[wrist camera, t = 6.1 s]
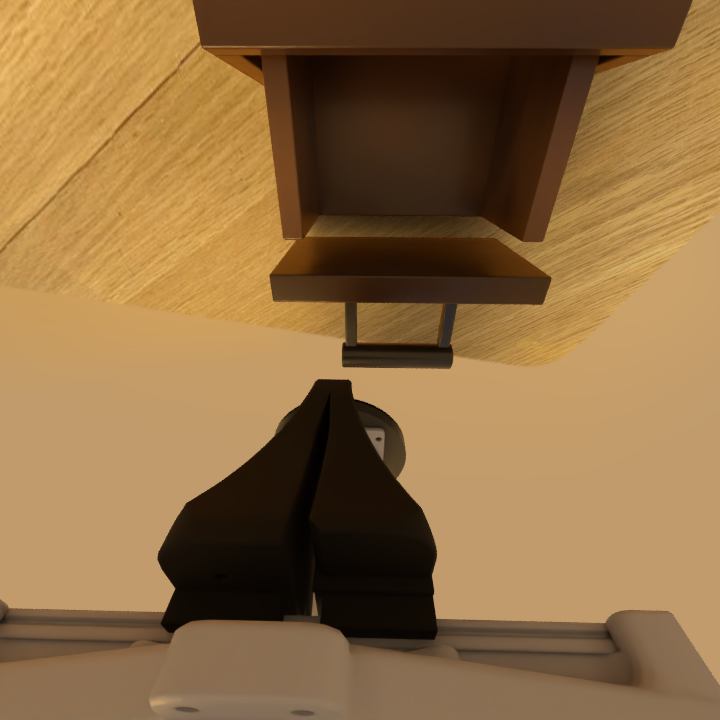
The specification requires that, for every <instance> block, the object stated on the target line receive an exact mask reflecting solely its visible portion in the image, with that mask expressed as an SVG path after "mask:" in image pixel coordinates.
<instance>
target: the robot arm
mask: <svg viewBox="0 0 720 720" xmlns="http://www.w3.org/2000/svg"><path fill="white" fill-rule="evenodd" d="M351 384H352V383H351V381H349V380H330V379H318V380H317V381H316V382H315V383H314V385H313V387H312V389H311V390H310V392H309V393H308V395H307V396H306V398H305V399H304V401H303V402H302V403H301V405H300V406H299V407H298V409H297V410H296V412H295V413H294V414H293V415H292V417H291V418H290V419H289V420H288V421H287V423H286V424H285V425H284V426H283V427H282V429H281V430H280V431H279V432H278V433H277V434H276V435H275V436H274V437H273V438H272V439H271V440H270V441H269V442H268V443H267V444H266V445H265V446H264V447H263V448H262V449H261V450H260V451H259V452H257V453H256V454H255V455H254V456H253V457H252V458H251V459H250V460H248V461H247V462H246V463H245V464H244V465H242V466H241V467H240V468H238V469H237V470H236V471H235V472H233V473H232V474H230V475H229V476H228V477H226V478H225V479H224V480H222V481H221V482H219V483H218V484H216V485H215V486H213V487H212V488H210V489H209V490H207V491H205V492H204V493H202V494H201V495H199V496H197V497H196V498H194V499H193V500H191V501H189V502H187V503H186V505H185V506H184V508H183V510H182V511H181V512H180V514H179V515H178V517H177V518H176V520H175V522H174V524H173V526H172V527H171V529H170V531H169V533H168V535H167V537H166V539H165V541H164V543H163V545H162V547H161V549H160V551H159V553H158V562H159V564H160V566H161V569H162V570H163V571H164V573H165V574H166V576H167V577H168V579H169V580H170V581H171V583H172V584H173V586H174V587H175V591H174V593H173V596H172V598H171V600H170V602H169V605H168V607H167V609H166V612H133V611H132V612H129V611H92V610H51V609H13V608H12V609H11V608H9V607H8V605H7V604H6V603H4V602H3V601H2V600H0V720H720V685H719V684H718V682H717V681H716V679H715V678H714V676H713V675H712V673H711V672H710V670H709V669H708V667H707V666H706V664H705V663H704V661H703V660H702V658H701V656H700V655H699V653H698V652H697V651H696V649H695V647H694V646H693V644H692V643H691V641H690V640H689V638H688V637H687V635H686V634H685V632H684V631H683V629H682V628H681V626H680V625H679V623H678V621H677V620H676V618H675V617H674V615H673V614H672V613H670V612H668V611H644V610H642V611H641V610H627V611H626V610H625V611H620V612H616V613H614V614H612V615H611V616H610V617H609V618H608V619H607V621H606V623H575V622H574V623H572V622H535V621H494V620H454V619H453V620H452V619H436V615H435V608H434V601H433V595H434V587H433V580H432V573H433V570H434V566H435V562H436V559H437V550H436V545H435V542H434V538H433V535H432V532H431V529H430V527H429V524H428V522H427V520H426V517H425V515H424V513H423V510H422V508H421V507H420V506H419V505H418V504H417V503H416V502H415V501H414V500H413V499H412V497H411V496H410V495H409V494H408V493H407V492H406V491H405V489H404V488H403V487H402V486H401V484H400V483H399V482H398V481H397V480H396V478H395V477H394V475H393V474H392V473H391V471H390V470H389V468H388V467H387V466H386V464H385V463H384V462H383V454H384V439H385V432H384V430H383V429H382V428H364V426H363V423H362V421H361V419H360V416H359V413H358V411H357V408H356V405H355V402H354V398H353V394H352V387H351V386H352V385H351ZM377 437H380V438H377Z"/></svg>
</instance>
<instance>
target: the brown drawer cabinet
mask: <svg viewBox="0 0 720 720" xmlns="http://www.w3.org/2000/svg"><path fill="white" fill-rule="evenodd" d="M692 1H693V0H193V5H194V10H195V15H196V21H197V26H198V31H199V36H200V41H201V46H202V48H203V49H205V50H207V51H208V52H210V53H211V54H213V55H215V56H216V57H218V58H220V59H221V60H223V61H224V62H226V63H228V64H229V65H231V66H233V67H234V68H236V69H238V70H239V71H241V72H242V73H244V74H246V75H247V76H249V77H251V78H252V79H254V80H256V81H257V82H259V83H260V84H262V85H264V78H263V70H262V62H261V55H600V57H599V60H598V63H597V67H596V70H595V73H594V74H597V73H600V72H603V71H606V70H609V69H612V68H615V67H618V66H621V65H624V64H627V63H630V62H633V61H636V60H639V59H642V58H645V57H648V56H650V55H654V54H657V53H661V52H664V51H667V50H670V49H672V48H673V47H674V46H675V44H676V42H677V39H678V36H679V34H680V31H681V29H682V26H683V24H684V21H685V19H686V16H687V14H688V11H689V9H690V6H691V4H692Z"/></svg>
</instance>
